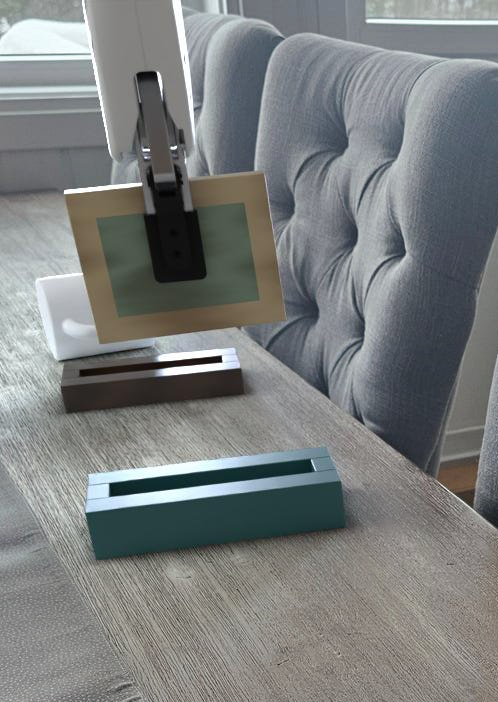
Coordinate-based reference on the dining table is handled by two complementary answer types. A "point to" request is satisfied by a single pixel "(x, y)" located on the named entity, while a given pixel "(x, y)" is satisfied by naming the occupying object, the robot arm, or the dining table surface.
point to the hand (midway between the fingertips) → (180, 274)
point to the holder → (213, 502)
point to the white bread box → (73, 319)
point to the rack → (151, 380)
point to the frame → (186, 296)
